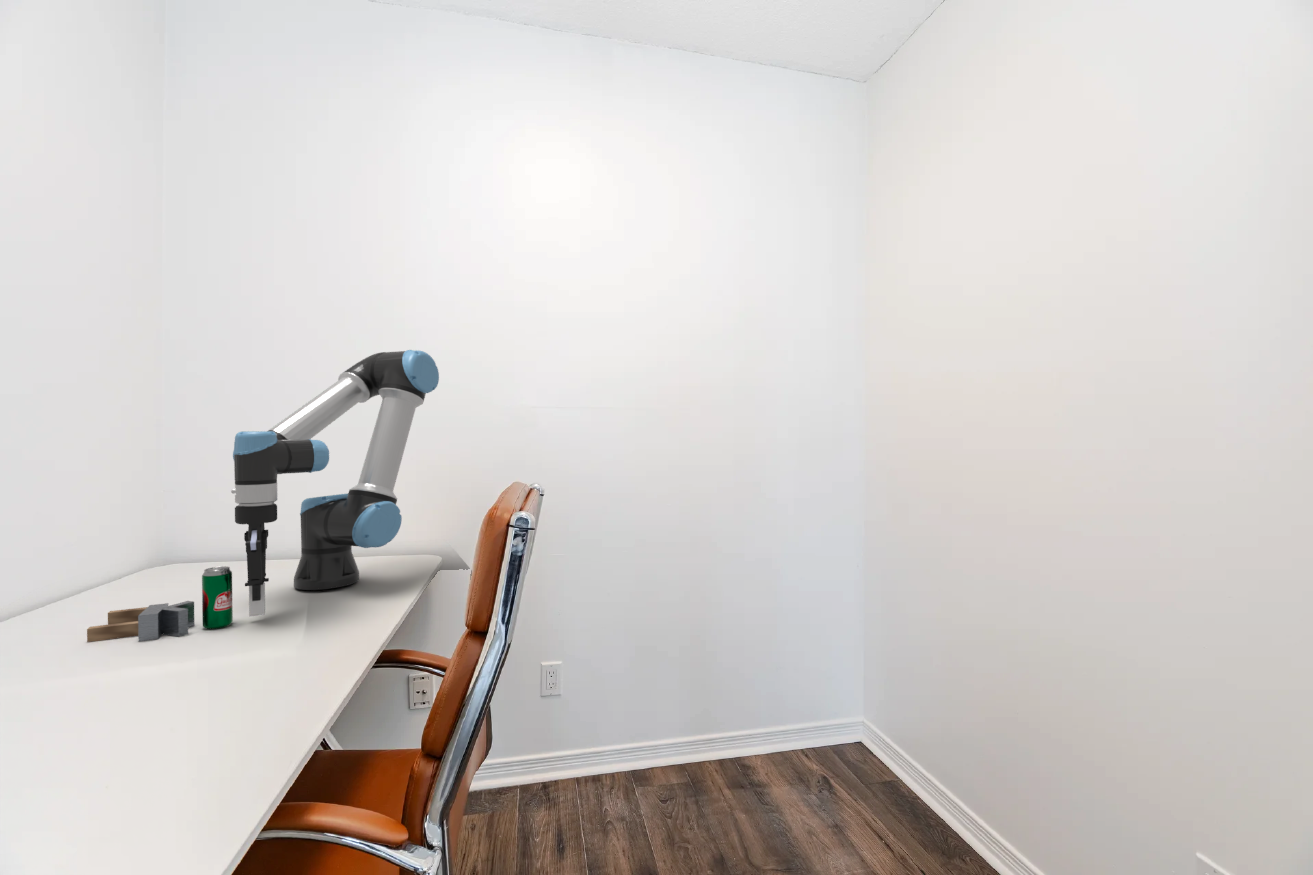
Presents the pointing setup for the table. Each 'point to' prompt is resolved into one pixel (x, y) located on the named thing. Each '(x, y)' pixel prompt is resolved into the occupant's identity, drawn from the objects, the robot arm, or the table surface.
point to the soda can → (217, 597)
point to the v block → (165, 620)
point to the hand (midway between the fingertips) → (257, 614)
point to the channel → (116, 625)
